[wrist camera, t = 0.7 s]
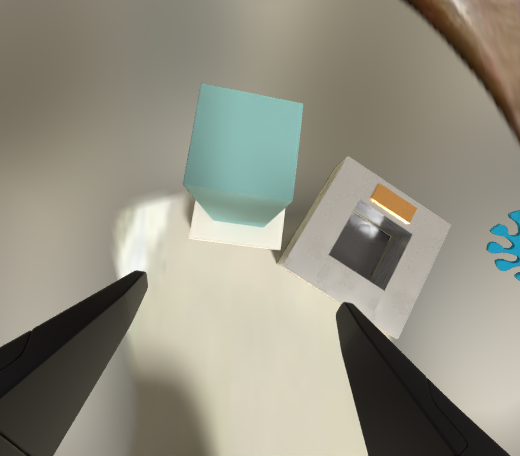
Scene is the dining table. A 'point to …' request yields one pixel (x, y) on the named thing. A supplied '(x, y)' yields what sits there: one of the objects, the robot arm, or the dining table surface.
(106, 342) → the robot arm
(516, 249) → the blue splat disc
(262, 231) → the white flat square block
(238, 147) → the teal square peg
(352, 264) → the hole plate
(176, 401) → the dining table surface
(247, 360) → the dining table surface
